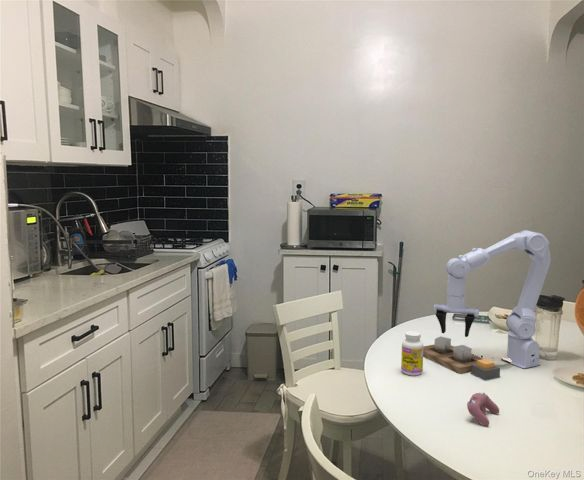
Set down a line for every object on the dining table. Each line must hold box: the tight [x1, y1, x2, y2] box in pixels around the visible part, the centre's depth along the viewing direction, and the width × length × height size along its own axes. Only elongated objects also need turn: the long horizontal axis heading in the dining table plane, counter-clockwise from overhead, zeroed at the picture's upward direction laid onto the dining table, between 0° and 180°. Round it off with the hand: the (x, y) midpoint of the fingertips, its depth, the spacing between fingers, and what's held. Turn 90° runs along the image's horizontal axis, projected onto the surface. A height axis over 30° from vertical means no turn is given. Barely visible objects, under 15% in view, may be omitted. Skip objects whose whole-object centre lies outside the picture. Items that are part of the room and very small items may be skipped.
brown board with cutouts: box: [423, 343, 484, 375], centre depth 173 cm, size 22×13×2 cm, turn 25°
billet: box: [453, 344, 473, 364], centre depth 168 cm, size 4×4×6 cm
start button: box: [477, 358, 495, 369], centre depth 159 cm, size 4×4×3 cm
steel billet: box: [433, 335, 452, 354], centre depth 177 cm, size 4×4×6 cm
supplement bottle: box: [400, 330, 424, 377], centre depth 161 cm, size 7×7×13 cm
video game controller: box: [466, 392, 500, 427], centre depth 131 cm, size 10×5×7 cm, turn 142°
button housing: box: [470, 363, 501, 381], centre depth 159 cm, size 6×6×3 cm
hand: (455, 334), depth 171 cm, fingers open, 7 cm apart
